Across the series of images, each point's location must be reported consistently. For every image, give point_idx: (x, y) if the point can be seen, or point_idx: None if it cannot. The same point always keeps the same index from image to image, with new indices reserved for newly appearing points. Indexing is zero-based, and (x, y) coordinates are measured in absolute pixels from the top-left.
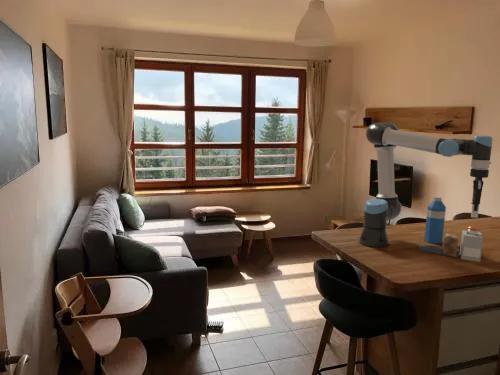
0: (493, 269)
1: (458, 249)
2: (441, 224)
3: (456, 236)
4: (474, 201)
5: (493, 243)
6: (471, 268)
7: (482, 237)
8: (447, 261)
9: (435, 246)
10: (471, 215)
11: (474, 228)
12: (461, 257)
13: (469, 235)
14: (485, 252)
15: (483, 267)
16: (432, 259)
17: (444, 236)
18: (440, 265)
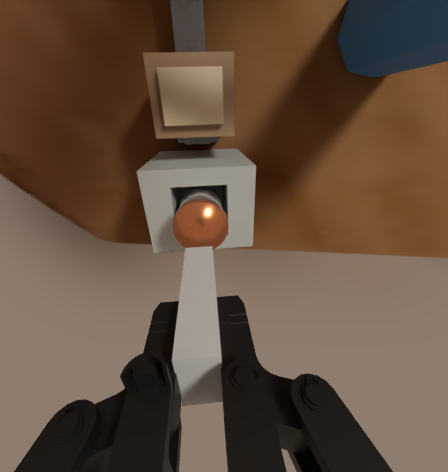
0: (117, 238)
1: (203, 142)
2: (426, 31)
3: (213, 132)
4: (23, 460)
5: (380, 250)
6: (77, 181)
7: (154, 251)
8: (96, 95)
9: (197, 24)
10: (184, 256)
11: (174, 234)
12: (160, 152)
13: (154, 198)
14: (278, 227)
15: (116, 215)
16: (74, 18)
17: (175, 54)
18: (15, 60)
